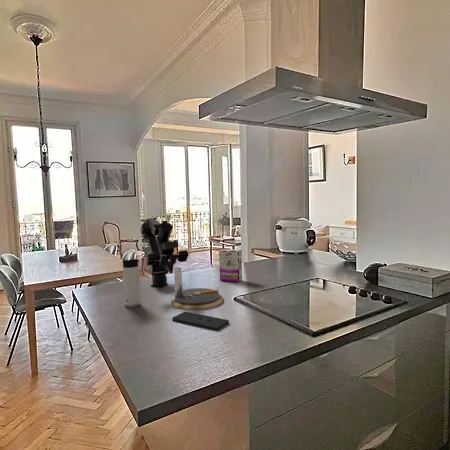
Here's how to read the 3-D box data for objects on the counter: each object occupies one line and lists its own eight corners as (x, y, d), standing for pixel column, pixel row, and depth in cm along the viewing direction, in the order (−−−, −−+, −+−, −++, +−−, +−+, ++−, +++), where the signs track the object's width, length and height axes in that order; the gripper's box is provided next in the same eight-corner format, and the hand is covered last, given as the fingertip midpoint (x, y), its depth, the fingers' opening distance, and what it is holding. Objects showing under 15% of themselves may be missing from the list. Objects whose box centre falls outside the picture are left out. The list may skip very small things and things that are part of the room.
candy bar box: (242, 280, 184) (242, 249, 183) (239, 282, 180) (238, 251, 178) (223, 278, 189) (222, 248, 187) (219, 280, 184) (218, 250, 182)
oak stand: (160, 305, 145) (160, 302, 145) (188, 291, 165) (188, 288, 165) (207, 312, 136) (207, 309, 135) (231, 296, 156) (231, 293, 155)
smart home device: (216, 327, 117) (171, 317, 128) (217, 332, 117) (171, 322, 128) (229, 319, 124) (185, 310, 135) (229, 324, 124) (185, 315, 135)
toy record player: (210, 289, 163) (209, 260, 162) (227, 300, 146) (226, 268, 144) (169, 295, 155) (168, 265, 153) (182, 307, 138) (181, 273, 136)
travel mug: (126, 308, 142) (124, 260, 141) (123, 304, 148) (121, 257, 146) (142, 306, 145) (139, 258, 143) (138, 302, 151) (136, 256, 149)
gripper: (146, 235, 154) (153, 265, 145) (186, 233, 162) (195, 260, 153) (143, 251, 162) (149, 279, 153) (182, 247, 170) (190, 274, 161)
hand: (171, 273), depth 155 cm, fingers closed
